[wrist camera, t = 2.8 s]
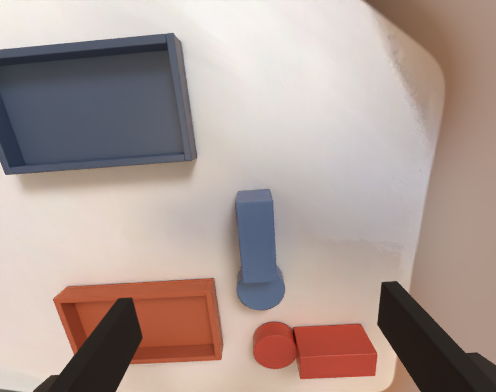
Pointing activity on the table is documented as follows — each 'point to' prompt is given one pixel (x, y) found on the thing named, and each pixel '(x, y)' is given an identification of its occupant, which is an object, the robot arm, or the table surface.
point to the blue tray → (94, 105)
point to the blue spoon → (257, 251)
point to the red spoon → (316, 350)
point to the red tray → (151, 317)
